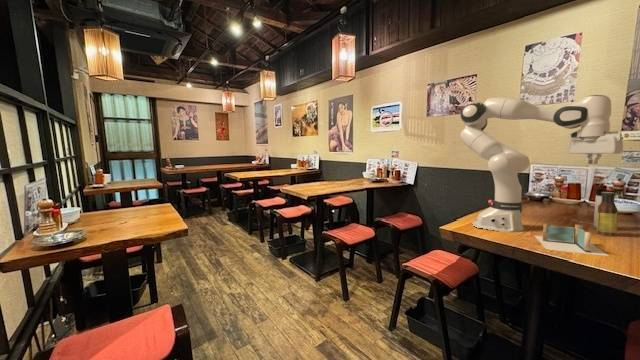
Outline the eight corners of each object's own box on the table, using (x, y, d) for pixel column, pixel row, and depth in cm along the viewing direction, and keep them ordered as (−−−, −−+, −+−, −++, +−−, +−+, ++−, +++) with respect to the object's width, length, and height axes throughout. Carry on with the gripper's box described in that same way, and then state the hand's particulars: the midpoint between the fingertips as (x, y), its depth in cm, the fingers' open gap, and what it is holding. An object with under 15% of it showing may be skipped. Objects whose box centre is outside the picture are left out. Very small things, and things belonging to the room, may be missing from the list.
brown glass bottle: (588, 227, 131) (591, 188, 129) (602, 226, 131) (605, 187, 129) (601, 230, 125) (604, 189, 123) (615, 230, 125) (619, 189, 123)
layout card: (546, 250, 104) (546, 249, 104) (533, 236, 120) (534, 235, 120) (609, 257, 95) (609, 256, 95) (586, 241, 112) (586, 240, 112)
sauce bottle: (620, 237, 115) (624, 193, 113) (603, 236, 116) (607, 193, 114) (607, 233, 122) (611, 191, 120) (591, 232, 123) (595, 191, 121)
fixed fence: (543, 241, 112) (544, 223, 111) (541, 239, 114) (542, 222, 114) (582, 245, 106) (584, 226, 106) (580, 243, 108) (581, 224, 108)
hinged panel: (576, 243, 107) (577, 227, 106) (581, 243, 106) (583, 227, 105) (584, 250, 99) (585, 232, 99) (590, 250, 99) (591, 233, 98)
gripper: (629, 130, 103) (626, 164, 105) (579, 134, 124) (577, 163, 125) (613, 130, 103) (611, 165, 105) (565, 134, 124) (564, 163, 125)
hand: (592, 164), depth 115 cm, fingers closed
